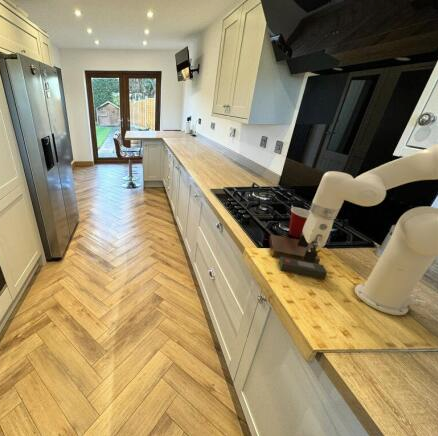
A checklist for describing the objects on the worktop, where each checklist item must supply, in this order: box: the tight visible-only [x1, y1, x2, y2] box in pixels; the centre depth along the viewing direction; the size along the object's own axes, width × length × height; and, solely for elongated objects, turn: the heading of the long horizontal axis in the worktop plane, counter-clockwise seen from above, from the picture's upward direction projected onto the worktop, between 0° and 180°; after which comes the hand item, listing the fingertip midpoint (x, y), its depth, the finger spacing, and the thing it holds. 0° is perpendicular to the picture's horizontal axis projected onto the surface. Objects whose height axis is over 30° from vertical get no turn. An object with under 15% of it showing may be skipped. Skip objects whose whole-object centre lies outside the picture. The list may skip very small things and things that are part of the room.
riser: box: [268, 234, 321, 264], centre depth 98 cm, size 16×14×3 cm
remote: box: [278, 257, 328, 281], centre depth 86 cm, size 14×5×3 cm, turn 70°
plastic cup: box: [288, 207, 310, 238], centre depth 110 cm, size 11×11×12 cm
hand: (304, 253), depth 84 cm, fingers open, 9 cm apart
